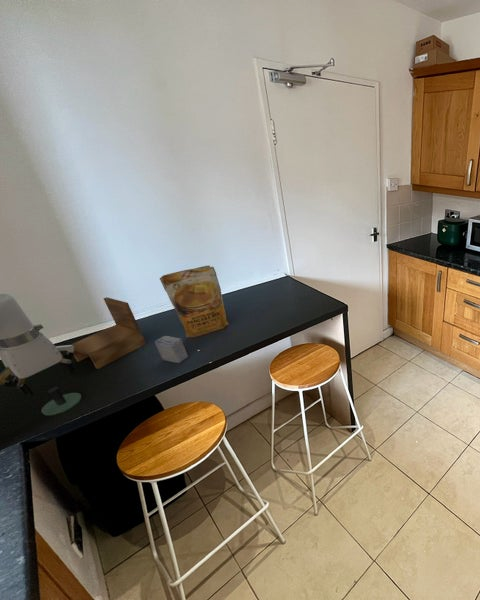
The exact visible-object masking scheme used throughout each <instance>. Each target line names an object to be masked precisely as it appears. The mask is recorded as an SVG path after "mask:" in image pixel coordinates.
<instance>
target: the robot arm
mask: <svg viewBox="0 0 480 600" xmlns="http://www.w3.org/2000/svg"><path fill="white" fill-rule="evenodd" d="M43 329H44V326H43V325H42V324H41V323H39V324H35V325H34V324H33V322H32V321H31V319H30V318H29V315H27V313H26V311H25V310H24V308H23V307H22V306H21V304H20V303H19V301H18V300H17V298H16V297H15V296H14V295H12V294H11V293H10V294H8V293H0V360H1V362H2V364H3V366H4V367H5V369H4V370H2V371H1V372H0V386H3V387H7V388H17V389H18V390H19V392H20V393H21V394H22V395H23V396H29V397H33V396H35V393H34V392H33V391H32V389H31V388H30V387H29V385H27V384H26V383H25V382H26V380H27V378H29V377H32V376H33V375H36V374H38V373H40V372H42V371H44V370H46V369H48V368H50V367H52V366H55V365H56V364H59V363H60V365H61V367H62V368H63V370H64V371H65V373H66V374H68V375H70V376H73V375H75V368H74V366H73V365H72V359H73V357H74V353H73V352H74V346H72V345H71V344H68V345H67V344H66V345H58V346H57V345H55V344H54V343H53V342H52V341H51V340H50V338H48V337H47V335H45V334H44V333H42V332H40V330H43ZM61 352H65V354H64V356H63V354H62V353H61ZM10 375H11V376H13V380H6V379H7V378H8V377H9V376H10Z"/></svg>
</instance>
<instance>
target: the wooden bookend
mask: <svg viewBox="0 0 480 600" xmlns="http://www.w3.org/2000/svg"><path fill="white" fill-rule="evenodd" d="M103 301H104V303H105V305H106V307H107V309H108V311H109V313H110V315H111V317H112V320H113V321H114V323H115V324H114V325H112V326H110V327H107V328H105V329H103V330H101V331H98V332H96V333H94V334H91V335H89V336H87V337H84V338H83V339H79V340H78V341H76V342H72V343H71V344H70V345H72V346H74V352H73V353H74V355H73V357H74V359H75V360H76V362H81V361H83V360H85V359H87V358H90V360H91V362H92V364H93V365H94V368H95V369H97V370H99V369H101V368H103V367H105V366H107V365H108V364H110V363H112V362H114V361H116V360H118V359H120V358H122V357H124V356H126V355H128V354H130V353H132V352H133V351H136V350H137V349H140V348H142V347H143V346H146V345H147V342H146V340H145V337H144V335H143V333H142V331H141V328H140V326H139V325H138V321H137V320H136V318H135V316H134V313H133V311H132V308H131V306H130V304H129V302H126V301H124V300H123V301H122V300H120V299H116V298H112V297H104V298H103Z"/></svg>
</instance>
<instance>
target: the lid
mask: <svg viewBox="0 0 480 600" xmlns="http://www.w3.org/2000/svg"><path fill="white" fill-rule="evenodd" d="M47 393H48V394H49V396H50V397H51V400H49V401H48V402H47V403H46V404H44V405H43V406H42V408H41V414H42V415H44V416H55V415H58V414H62V413H64V412H67V411H69V410H71V409H72V408H74V407H75V406H77V405H79V403H80V402H81V401H82V399H83V395H82V394H81V393H79V392H70V393H65V394H63V393H62V392H61V390H60V388H59V387H58V386H55V387H51V388H50V389H48V390H47Z"/></svg>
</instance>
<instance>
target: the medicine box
mask: <svg viewBox="0 0 480 600" xmlns="http://www.w3.org/2000/svg"><path fill="white" fill-rule="evenodd" d="M154 344H155V347H156V349H157V351H158V353H159V356H160V358H161V360H162V361H165V362H170V363H175V364H180V363H182V362H183V361H185V360H186V359H187V358H189V355H188V353H187V350H186V347H185V345H184V343H183V340H182V338H179V337H175V336H170V335H169V336H168V335H163V336H161V337H160V338H158V339H157V340H155V341H154Z"/></svg>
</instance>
